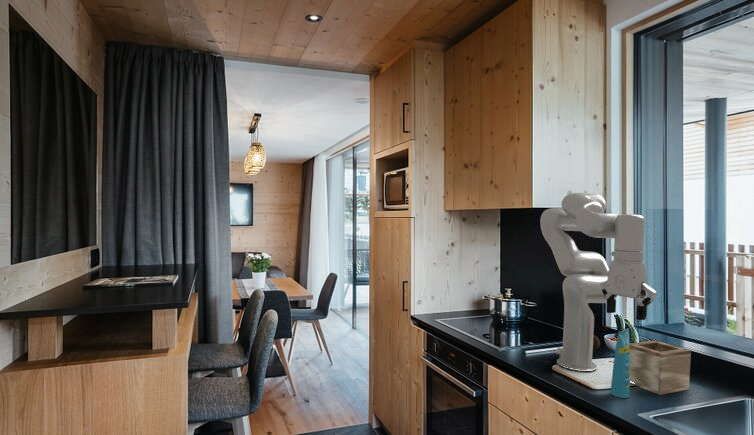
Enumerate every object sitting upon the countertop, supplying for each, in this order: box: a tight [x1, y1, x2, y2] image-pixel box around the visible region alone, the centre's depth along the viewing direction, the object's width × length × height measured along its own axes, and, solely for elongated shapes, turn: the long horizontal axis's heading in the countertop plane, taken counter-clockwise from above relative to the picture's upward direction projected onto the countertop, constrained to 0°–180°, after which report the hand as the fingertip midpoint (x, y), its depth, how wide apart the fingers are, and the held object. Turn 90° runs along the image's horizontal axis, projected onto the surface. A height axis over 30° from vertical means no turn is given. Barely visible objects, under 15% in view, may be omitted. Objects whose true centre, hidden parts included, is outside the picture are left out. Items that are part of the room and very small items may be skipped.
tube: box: [610, 327, 631, 399], centre depth 140 cm, size 7×5×19 cm, turn 140°
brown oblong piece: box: [593, 334, 601, 351], centre depth 186 cm, size 6×5×15 cm
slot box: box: [630, 340, 692, 396], centre depth 150 cm, size 12×14×12 cm
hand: (625, 316), depth 139 cm, fingers open, 9 cm apart
